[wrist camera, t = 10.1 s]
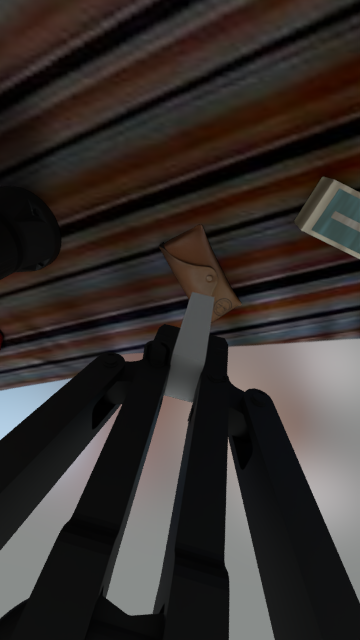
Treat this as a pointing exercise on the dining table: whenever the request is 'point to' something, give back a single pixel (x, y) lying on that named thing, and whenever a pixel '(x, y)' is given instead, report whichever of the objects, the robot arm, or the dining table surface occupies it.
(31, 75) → the dining table surface
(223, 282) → the sunglasses case
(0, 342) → the pomegranate
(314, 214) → the cream and teal box
